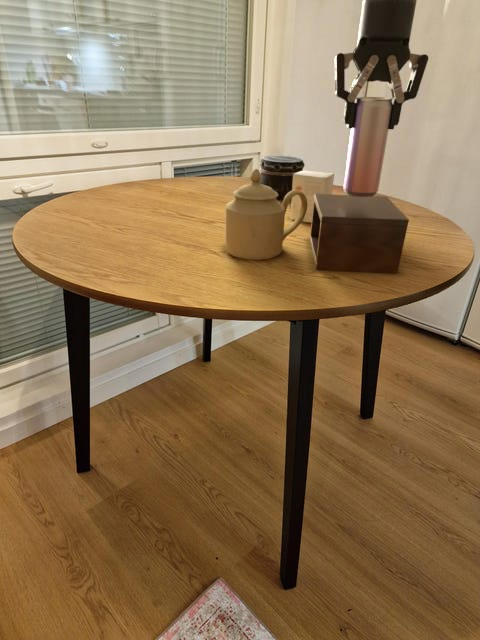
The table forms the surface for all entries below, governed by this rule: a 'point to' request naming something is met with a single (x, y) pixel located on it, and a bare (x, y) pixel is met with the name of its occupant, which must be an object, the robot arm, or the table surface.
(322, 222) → the open-ended wooden box
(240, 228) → the sugar bowl
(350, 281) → the table surface
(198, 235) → the table surface
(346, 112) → the robot arm
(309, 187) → the small box
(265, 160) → the container
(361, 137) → the beverage can
